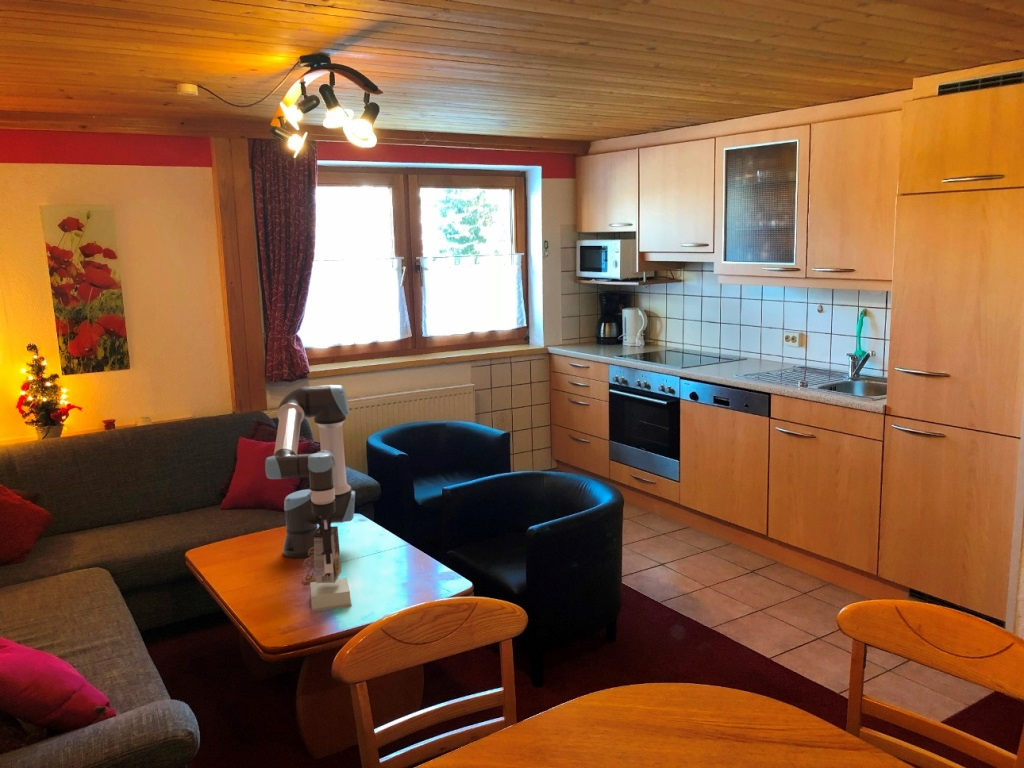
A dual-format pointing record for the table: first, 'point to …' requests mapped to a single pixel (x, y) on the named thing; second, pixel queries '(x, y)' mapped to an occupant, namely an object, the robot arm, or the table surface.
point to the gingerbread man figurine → (310, 578)
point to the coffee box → (319, 558)
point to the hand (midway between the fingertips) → (328, 566)
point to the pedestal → (330, 595)
